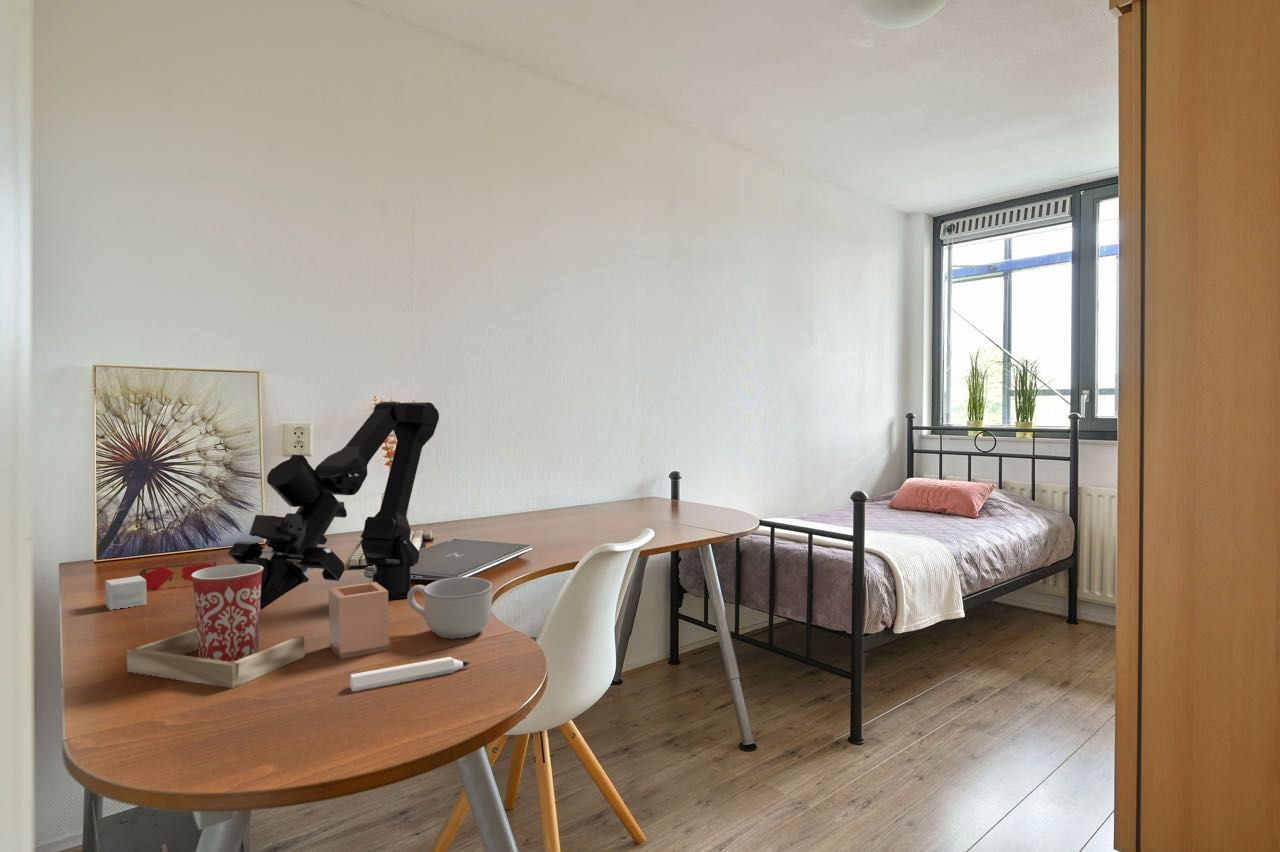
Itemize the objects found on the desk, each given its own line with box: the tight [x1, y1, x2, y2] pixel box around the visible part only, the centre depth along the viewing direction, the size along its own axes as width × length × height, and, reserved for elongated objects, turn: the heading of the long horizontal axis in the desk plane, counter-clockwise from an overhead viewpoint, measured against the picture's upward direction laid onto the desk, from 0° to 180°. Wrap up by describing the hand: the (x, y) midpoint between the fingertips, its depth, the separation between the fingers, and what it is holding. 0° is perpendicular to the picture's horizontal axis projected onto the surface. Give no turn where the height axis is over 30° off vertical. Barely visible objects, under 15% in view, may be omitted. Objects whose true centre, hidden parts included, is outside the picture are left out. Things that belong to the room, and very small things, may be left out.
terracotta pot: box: [328, 581, 390, 660], centre depth 111 cm, size 7×7×9 cm
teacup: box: [406, 576, 493, 640], centre depth 118 cm, size 14×11×8 cm
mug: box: [191, 563, 264, 662], centre depth 106 cm, size 13×9×14 cm
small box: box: [104, 575, 147, 611], centre depth 136 cm, size 6×6×5 cm
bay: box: [126, 627, 306, 689], centre depth 104 cm, size 12×19×3 cm, turn 72°
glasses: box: [138, 561, 217, 591], centre depth 155 cm, size 14×16×5 cm
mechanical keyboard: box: [348, 529, 435, 571], centre depth 184 cm, size 38×19×3 cm, turn 14°
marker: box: [349, 656, 472, 692], centre depth 99 cm, size 3×2×16 cm
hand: (257, 608), depth 110 cm, fingers closed
